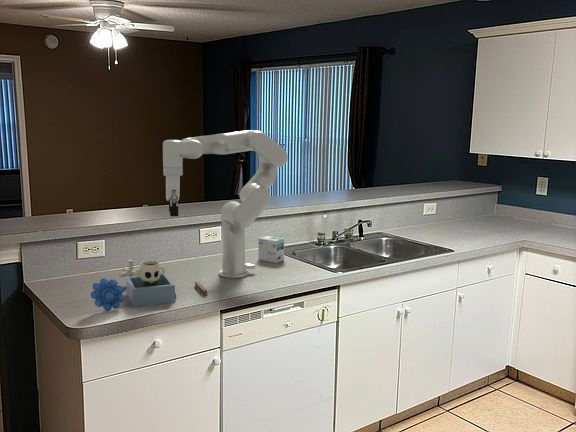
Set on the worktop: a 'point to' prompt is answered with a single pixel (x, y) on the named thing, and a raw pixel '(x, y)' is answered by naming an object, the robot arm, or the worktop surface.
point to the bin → (150, 291)
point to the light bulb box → (271, 249)
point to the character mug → (150, 272)
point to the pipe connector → (129, 270)
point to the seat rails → (199, 288)
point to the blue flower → (107, 294)
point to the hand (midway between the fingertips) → (173, 213)
